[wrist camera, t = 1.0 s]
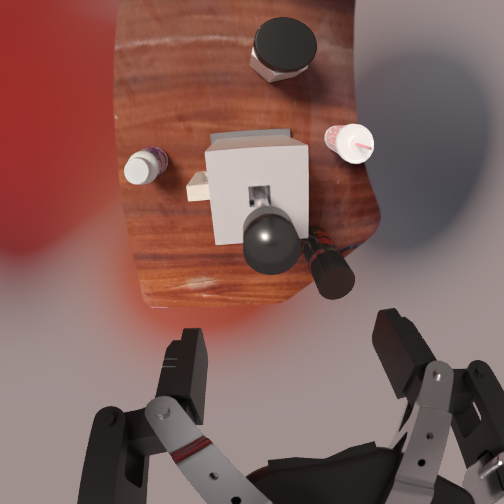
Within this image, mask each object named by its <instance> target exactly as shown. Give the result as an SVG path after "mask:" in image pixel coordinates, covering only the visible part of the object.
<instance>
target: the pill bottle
mask: <svg viewBox="0 0 504 504" xmlns="http://www.w3.org/2000/svg"><path fill="white" fill-rule="evenodd" d="M167 165H168V157H167V155H166V153H165V152H164V151H163V150H162V149H161V148H158V147H150V148H147V149H144V150H141V151H139V152H136V153H135V154H133V155H132V156H131V157H130V159H129V160H128V162H127V164H126V166H125V169H124V174H125V177H126V179H127V180H128V181H129V182H130V183H132V184H141V185H144V184H148V183H150V182H152V181H153V180H154V179H156V178H157V177H158V176H160V175H161V174H162V173H163V172H164V171H165V170H166V168H167Z"/></svg>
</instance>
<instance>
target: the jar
mask: <svg viewBox="0 0 504 504" xmlns="http://www.w3.org/2000/svg"><path fill="white" fill-rule="evenodd" d="M316 51H317V41H316V38H315V36H314V34H313V32H312V31H311V30H310V28H309V27H308V26H306V25H305V24H304V23H302V22H300V21H298V20H296V19H293V18H287V17H279V18H274V19H271V20H269V21H267V22H265V23H264V24H262V25H261V26H260V27H259V29H258V30H257V32H256V35H255V39H254V46H253V50H252V53H251V58H250V63H249V66H250V67H251V68H253V69H254V70H255V71H256V72H257V73H259V74H260V75H261V76H262V77H263V78H264V79H265V80H267V81H268V82H269V83H270V82H274V81H279V80H283V79H288V78H292V77H295V76H297V75H298V74H300V73H301V72H303V71H304V70H306V69H307V68H308V65H309V63H310V62H311V61H312V60H313V58H314V57H315V54H316Z"/></svg>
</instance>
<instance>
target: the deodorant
mask: <svg viewBox="0 0 504 504" xmlns="http://www.w3.org/2000/svg"><path fill="white" fill-rule="evenodd" d="M300 241H301V250H302V252H303V254H304V257H305V259H306V262H307V264H308V266H309V269H310V271H311V273H312V276H313V278H314V281H315V283H316V286H317V288H318V290H319V293H320V294H321V295H322V296H323V297H324V298H326V299H330V300H333V299H339V298H342V297H344V296H345V295H347V294H348V293H349V292H350V291H351V290H352V288H353V286H354V283H355V276H354V273H353V272H352V270H351V269H350V267H349V265H348V264H347V262H346V261H345V259H344V258H343V256H342V255H341V253H340V252H339V250H338V249H337V247H336V246H335V244H334V243H333V241H332V240H331V238H330V237H329V235H328V234H327V232H326V231H325V230H324V229H322V228H320V227H311V228H309V229H308V238H301V239H300Z"/></svg>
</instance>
